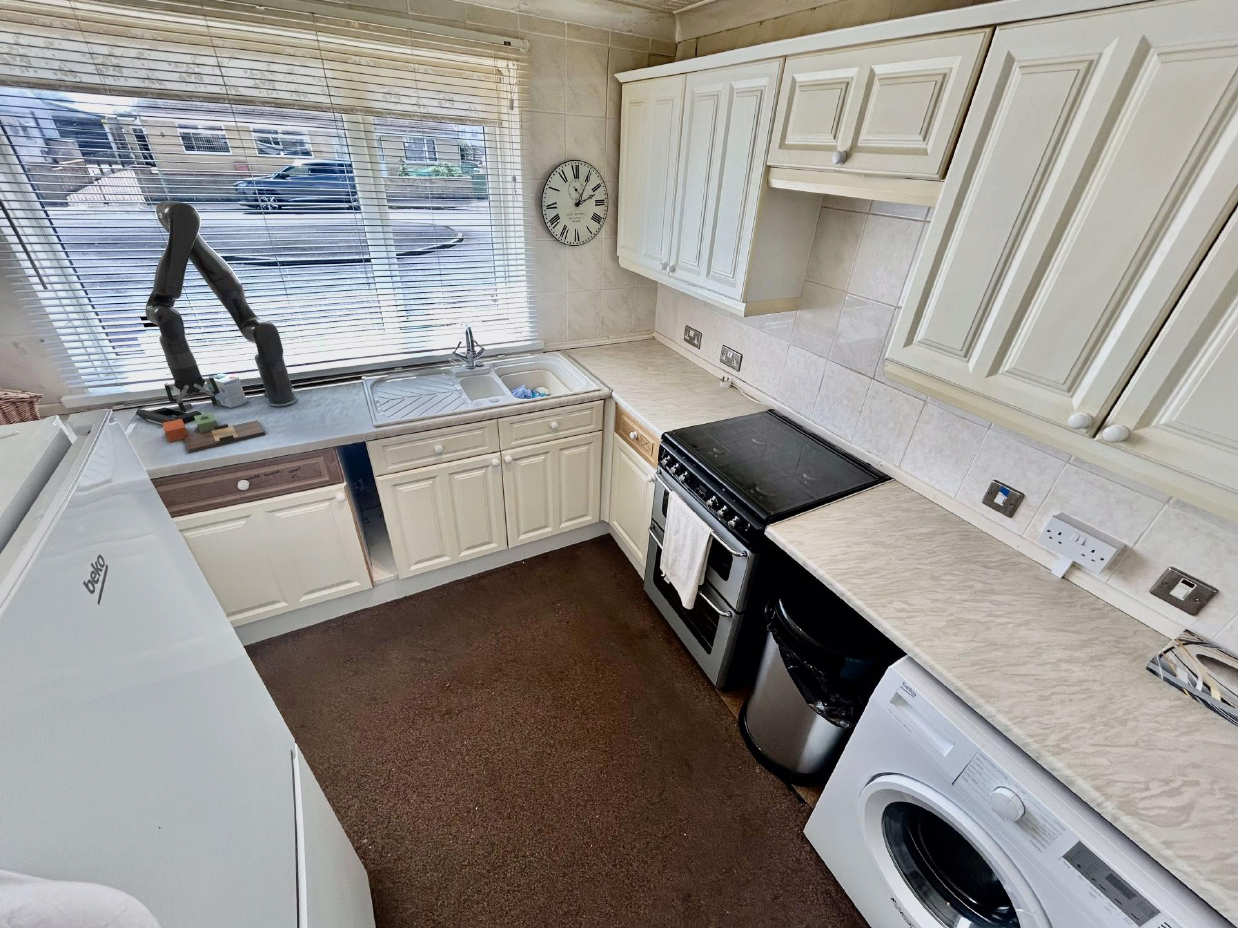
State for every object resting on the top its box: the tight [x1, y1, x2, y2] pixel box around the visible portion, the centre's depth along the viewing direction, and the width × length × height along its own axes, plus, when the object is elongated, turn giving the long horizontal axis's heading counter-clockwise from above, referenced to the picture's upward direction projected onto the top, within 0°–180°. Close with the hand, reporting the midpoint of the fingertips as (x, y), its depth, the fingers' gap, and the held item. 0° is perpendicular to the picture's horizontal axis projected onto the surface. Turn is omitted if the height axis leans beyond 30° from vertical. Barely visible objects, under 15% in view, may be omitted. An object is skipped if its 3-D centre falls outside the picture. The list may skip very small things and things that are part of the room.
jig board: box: [183, 419, 266, 453], centre depth 182 cm, size 12×22×2 cm, turn 131°
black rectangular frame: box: [135, 402, 202, 426], centre depth 196 cm, size 3×20×16 cm
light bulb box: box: [205, 372, 248, 409], centre depth 205 cm, size 11×7×11 cm, turn 68°
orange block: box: [162, 419, 189, 443], centre depth 182 cm, size 9×6×4 cm, turn 41°
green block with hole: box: [194, 412, 219, 433], centre depth 187 cm, size 9×6×5 cm, turn 41°
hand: (199, 408), depth 184 cm, fingers open, 8 cm apart
